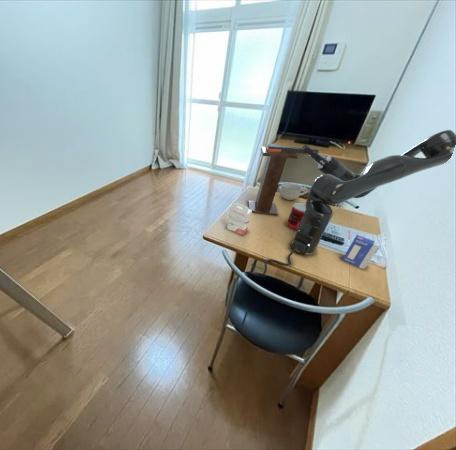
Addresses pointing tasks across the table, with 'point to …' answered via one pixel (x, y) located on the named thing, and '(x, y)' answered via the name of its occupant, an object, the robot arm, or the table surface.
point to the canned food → (296, 215)
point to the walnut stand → (270, 182)
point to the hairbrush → (287, 149)
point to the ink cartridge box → (239, 218)
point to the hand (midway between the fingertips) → (304, 147)
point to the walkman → (361, 251)
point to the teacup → (291, 191)
